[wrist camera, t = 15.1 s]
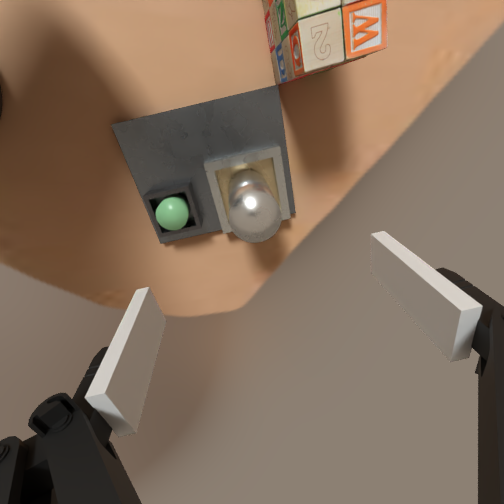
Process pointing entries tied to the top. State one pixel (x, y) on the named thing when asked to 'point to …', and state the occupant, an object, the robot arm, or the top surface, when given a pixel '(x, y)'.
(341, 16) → the stack of blocks
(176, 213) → the button
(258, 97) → the panel
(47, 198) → the top surface
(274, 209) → the cylinder
